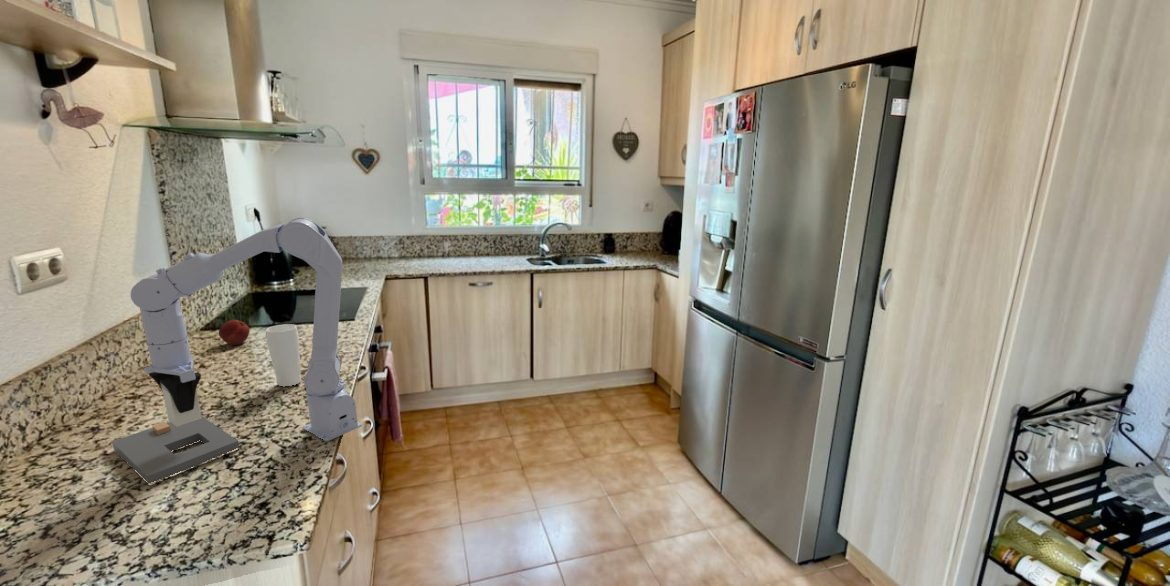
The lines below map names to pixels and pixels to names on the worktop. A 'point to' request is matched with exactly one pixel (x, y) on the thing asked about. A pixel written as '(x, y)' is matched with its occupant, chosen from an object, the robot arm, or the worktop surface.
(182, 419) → the plug
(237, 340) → the apple
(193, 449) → the socket plate
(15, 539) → the worktop surface
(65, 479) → the worktop surface
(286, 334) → the drinking glass
